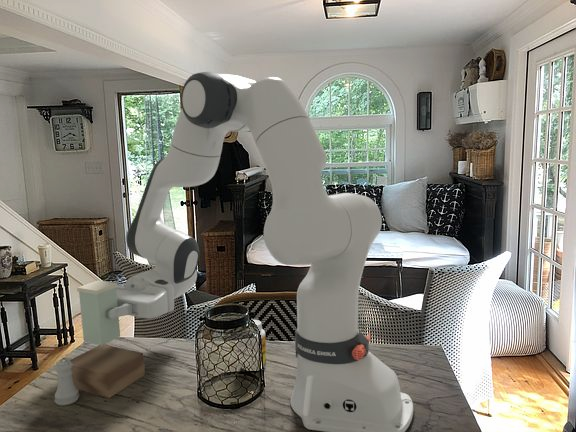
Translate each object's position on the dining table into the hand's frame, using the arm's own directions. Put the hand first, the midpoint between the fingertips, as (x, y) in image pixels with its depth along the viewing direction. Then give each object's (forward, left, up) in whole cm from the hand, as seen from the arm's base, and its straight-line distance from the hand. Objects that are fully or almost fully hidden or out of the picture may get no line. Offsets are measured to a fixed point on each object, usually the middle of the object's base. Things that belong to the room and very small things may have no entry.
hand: (96, 312), depth 96 cm
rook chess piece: (+1, +8, -15) cm, 17 cm away
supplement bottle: (-26, -18, -15) cm, 35 cm away
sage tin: (0, -1, -6) cm, 6 cm away
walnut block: (0, -1, -15) cm, 15 cm away
